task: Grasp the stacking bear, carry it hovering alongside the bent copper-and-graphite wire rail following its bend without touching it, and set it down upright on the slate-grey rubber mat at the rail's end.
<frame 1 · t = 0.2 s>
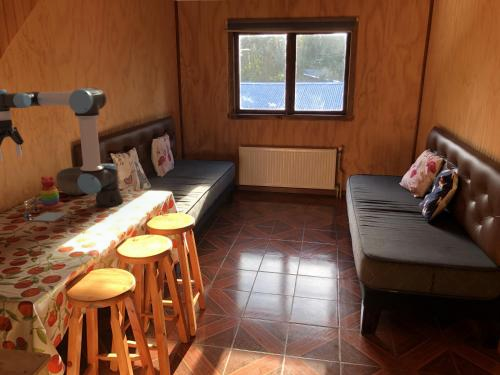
hand: (10, 158, 230), 28 cm above the table, fingers open, 13 cm apart
wire: (32, 215, 223), on the table
mat: (50, 217, 220), on the table
bowl: (77, 193, 263), on the table
stacking bear: (51, 207, 237), on the table
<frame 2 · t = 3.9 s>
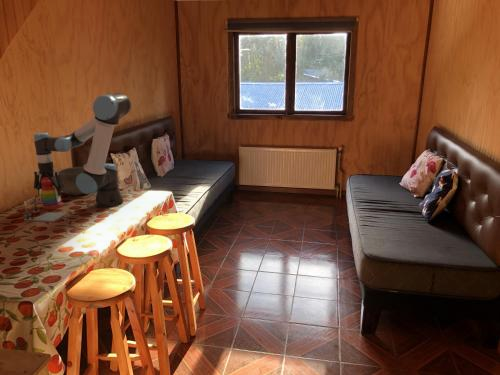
hand: (50, 200, 236), 4 cm above the table, fingers closed on stacking bear, 9 cm apart
stacking bear: (51, 207, 237), on the table, touching gripper
everything else where it was.
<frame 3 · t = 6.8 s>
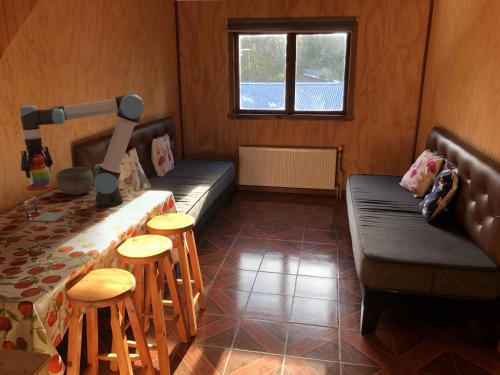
hand: (40, 181, 216), 19 cm above the table, fingers closed on stacking bear, 9 cm apart
stacking bear: (41, 188, 217), point 15 cm above the table, touching gripper
everything else where it was.
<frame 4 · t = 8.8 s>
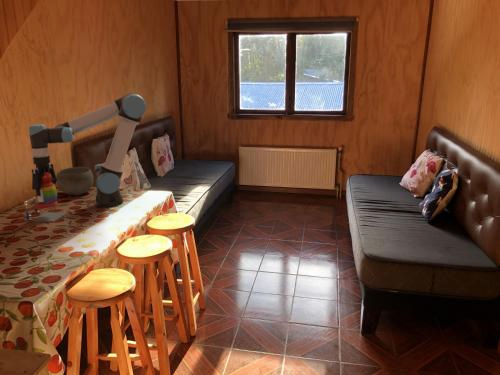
hand: (47, 198, 217), 10 cm above the table, fingers closed on stacking bear, 9 cm apart
stacking bear: (48, 205, 218), point 6 cm above the table, touching gripper
everything else where it was.
when the fingers open (5 cm above the table, at t = 10.2 s): stacking bear drops 1 cm, resting on mat.
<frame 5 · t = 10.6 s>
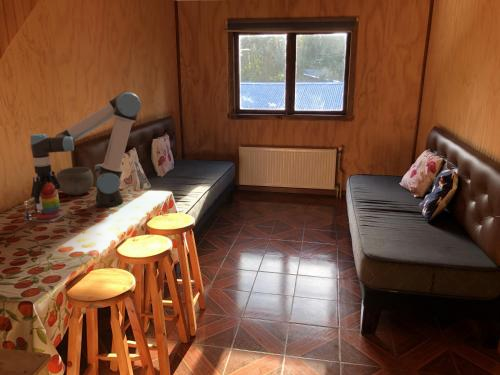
hand: (48, 205, 218), 7 cm above the table, fingers open, 13 cm apart
stacking bear: (50, 216, 220), point 1 cm above the table, touching mat
everything else where it was.
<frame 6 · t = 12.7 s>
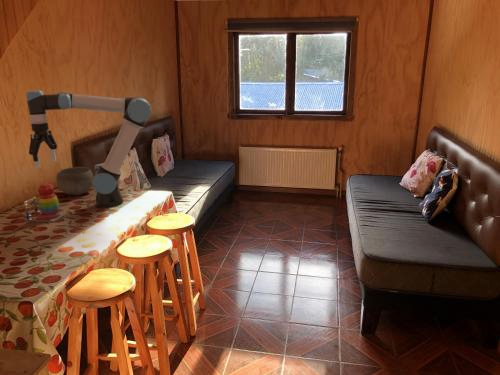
hand: (46, 164, 216), 27 cm above the table, fingers open, 13 cm apart
nothing on the table moved.
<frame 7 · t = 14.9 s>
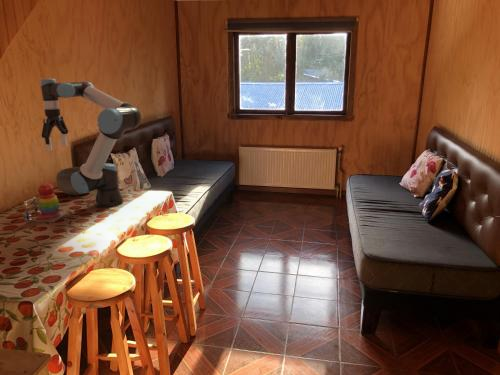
hand: (57, 147, 232), 33 cm above the table, fingers open, 13 cm apart
nothing on the table moved.
at the end: stacking bear inside the target area on the mat (0.1 cm from its centre), point 0.4 cm above the mat's base; stacking bear tilted 0°; stacking bear touching mat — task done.
